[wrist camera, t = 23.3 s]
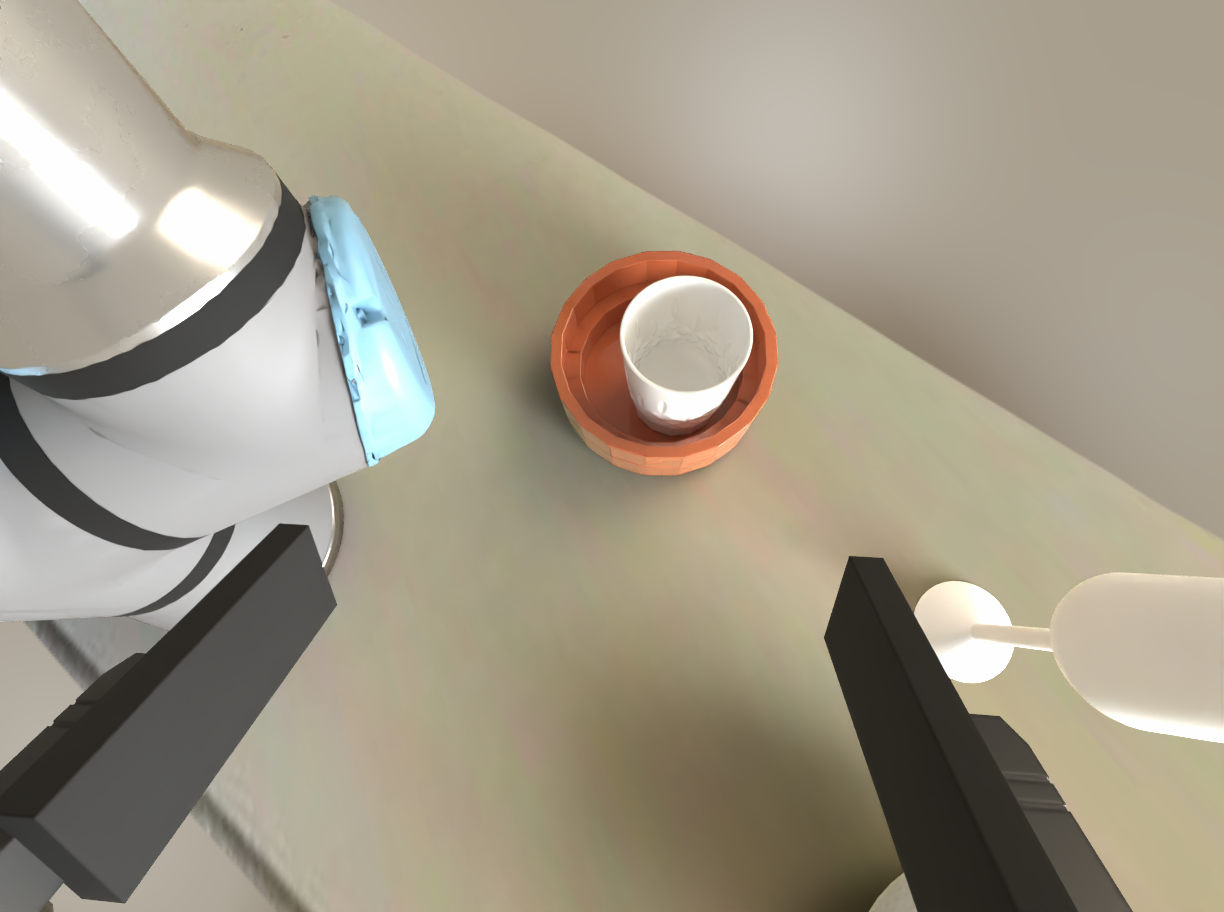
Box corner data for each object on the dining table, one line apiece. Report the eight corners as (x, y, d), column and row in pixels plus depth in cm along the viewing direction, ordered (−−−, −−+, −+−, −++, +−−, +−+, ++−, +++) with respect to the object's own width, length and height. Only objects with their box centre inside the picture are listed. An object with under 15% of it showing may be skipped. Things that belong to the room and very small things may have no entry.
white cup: (658, 462, 39) (665, 419, 30) (605, 380, 41) (595, 314, 32) (745, 410, 40) (779, 352, 30) (689, 332, 42) (705, 253, 32)
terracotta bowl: (594, 503, 40) (586, 487, 34) (541, 327, 44) (526, 286, 38) (788, 442, 40) (813, 417, 34) (718, 274, 44) (730, 225, 38)
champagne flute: (989, 570, 37) (1575, 527, 14) (1031, 670, 35) (1783, 810, 12) (897, 593, 37) (1332, 587, 14) (934, 693, 35) (1506, 881, 12)
